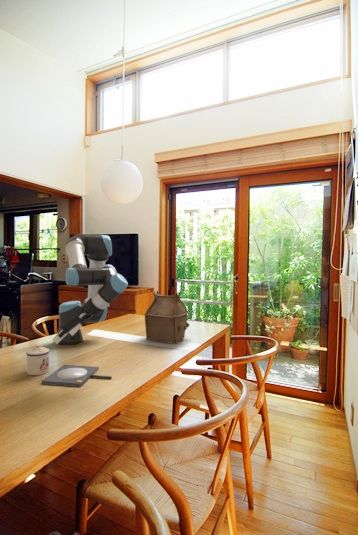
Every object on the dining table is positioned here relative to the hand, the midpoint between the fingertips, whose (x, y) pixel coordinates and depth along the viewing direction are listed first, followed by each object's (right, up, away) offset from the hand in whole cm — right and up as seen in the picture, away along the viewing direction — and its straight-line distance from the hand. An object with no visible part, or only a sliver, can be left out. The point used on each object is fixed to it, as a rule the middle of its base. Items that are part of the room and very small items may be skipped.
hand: (63, 337), depth 128 cm
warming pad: (+10, -15, -5) cm, 19 cm away
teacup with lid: (-11, -15, +1) cm, 18 cm away
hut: (+42, -15, +57) cm, 72 cm away
